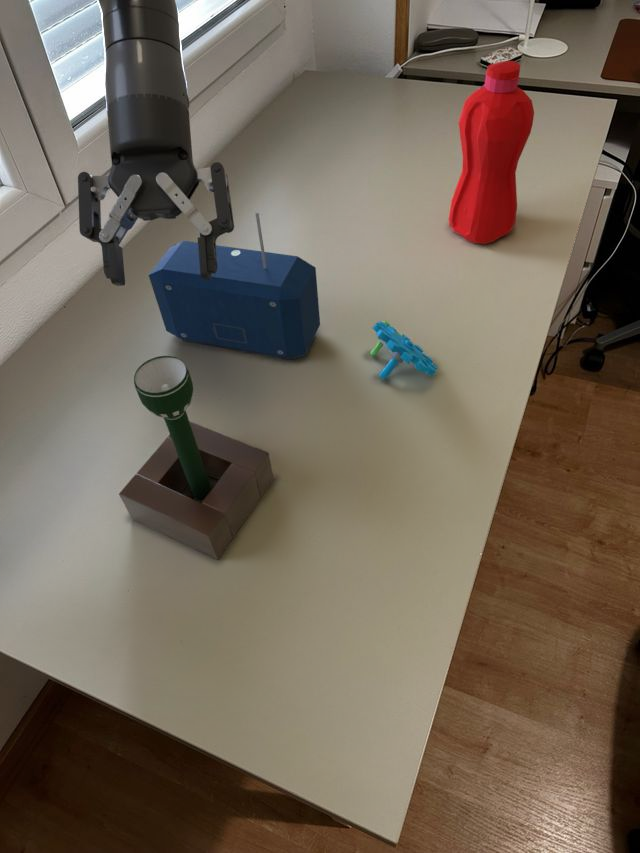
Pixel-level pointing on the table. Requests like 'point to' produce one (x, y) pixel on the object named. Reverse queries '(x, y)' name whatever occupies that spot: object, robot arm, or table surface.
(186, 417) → the flashlight
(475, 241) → the water bottle
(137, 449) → the table surface
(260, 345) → the radio
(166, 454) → the holder
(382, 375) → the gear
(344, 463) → the table surface
